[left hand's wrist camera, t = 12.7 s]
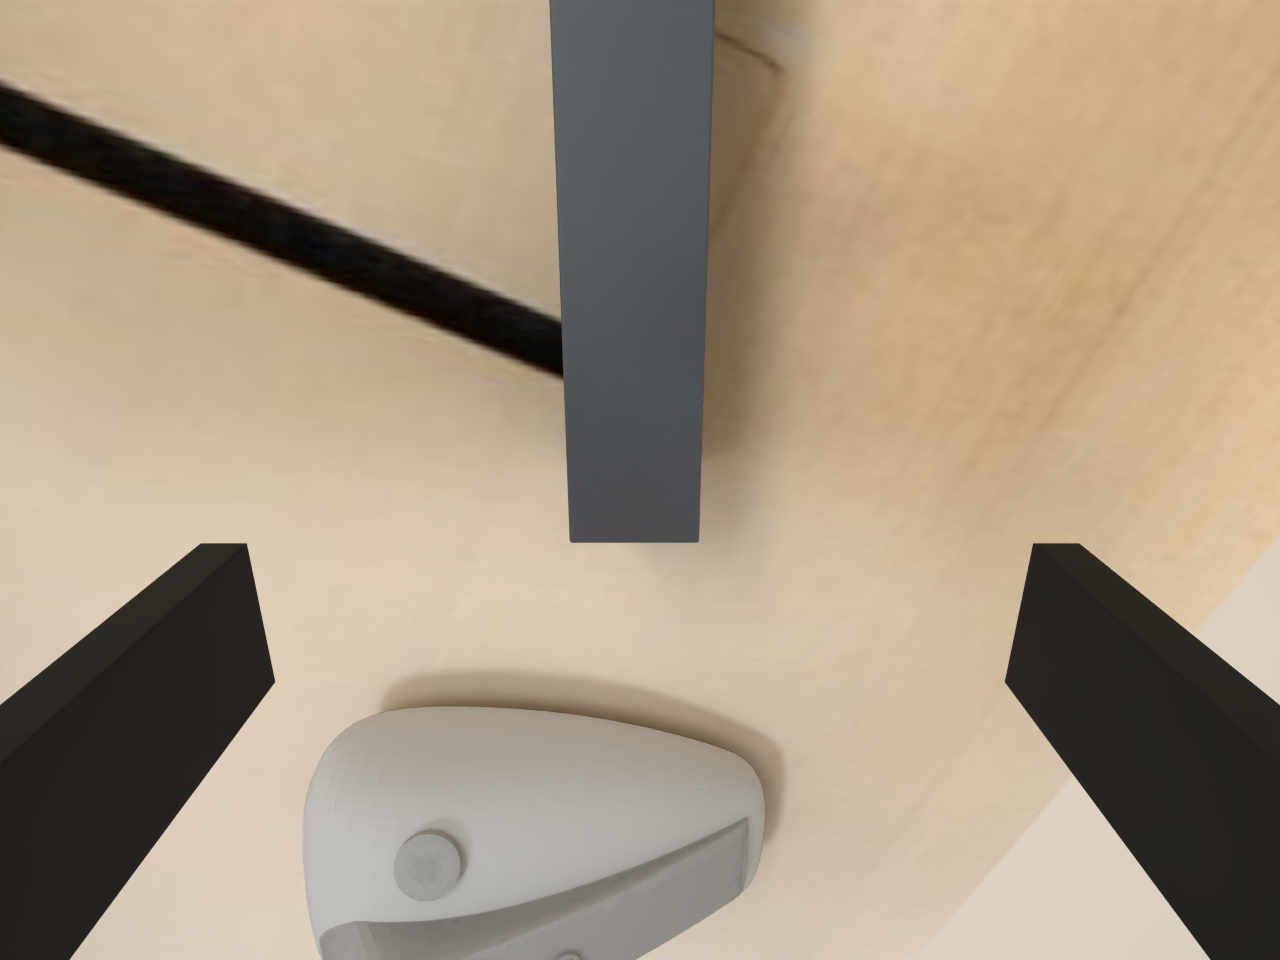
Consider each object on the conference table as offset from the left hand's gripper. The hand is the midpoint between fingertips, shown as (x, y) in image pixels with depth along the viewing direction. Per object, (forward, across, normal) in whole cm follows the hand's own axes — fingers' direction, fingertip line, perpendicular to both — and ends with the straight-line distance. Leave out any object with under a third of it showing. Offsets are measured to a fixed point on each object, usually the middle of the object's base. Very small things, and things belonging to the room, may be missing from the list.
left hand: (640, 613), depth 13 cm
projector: (+23, +5, +26) cm, 35 cm away
